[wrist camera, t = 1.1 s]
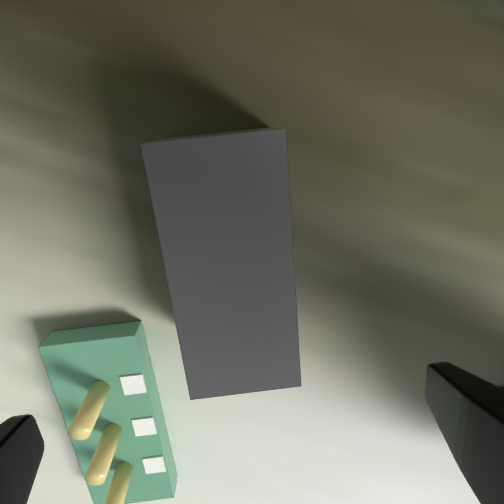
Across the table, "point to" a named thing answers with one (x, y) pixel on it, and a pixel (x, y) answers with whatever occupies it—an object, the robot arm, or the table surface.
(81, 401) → the green peg board
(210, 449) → the table surface
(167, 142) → the block
